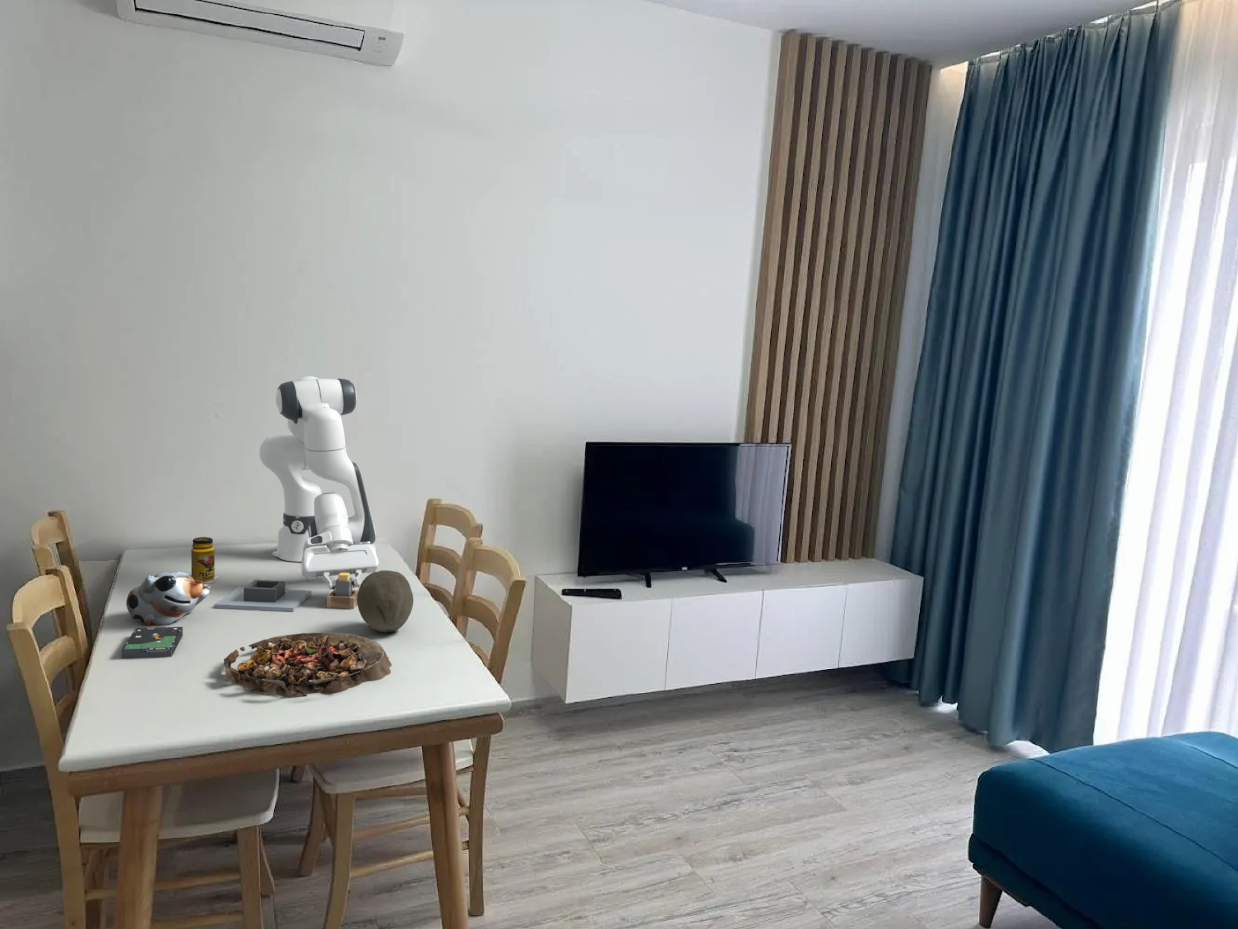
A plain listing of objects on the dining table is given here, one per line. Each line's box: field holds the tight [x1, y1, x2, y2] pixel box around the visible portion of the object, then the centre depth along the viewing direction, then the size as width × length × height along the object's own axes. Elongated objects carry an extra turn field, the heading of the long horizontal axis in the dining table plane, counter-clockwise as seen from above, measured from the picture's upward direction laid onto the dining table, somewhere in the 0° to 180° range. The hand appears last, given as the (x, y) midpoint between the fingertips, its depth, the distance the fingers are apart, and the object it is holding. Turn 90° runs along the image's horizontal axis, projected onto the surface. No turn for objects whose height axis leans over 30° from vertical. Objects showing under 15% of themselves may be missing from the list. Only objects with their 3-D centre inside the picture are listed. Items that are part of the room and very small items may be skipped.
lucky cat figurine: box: [125, 570, 211, 626], centre depth 230 cm, size 17×14×16 cm
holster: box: [326, 589, 359, 610], centre depth 251 cm, size 7×7×3 cm
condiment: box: [188, 536, 219, 584], centre depth 265 cm, size 7×8×12 cm
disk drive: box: [121, 626, 184, 660], centre depth 212 cm, size 10×3×15 cm
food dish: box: [223, 631, 393, 698], centre depth 204 cm, size 35×33×8 cm
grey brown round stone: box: [357, 569, 414, 633], centre depth 232 cm, size 14×14×15 cm
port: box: [214, 579, 312, 613], centre depth 250 cm, size 16×20×4 cm
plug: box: [335, 573, 354, 597], centre depth 250 cm, size 4×4×8 cm
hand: (344, 587), depth 250 cm, fingers closed on plug, 5 cm apart
